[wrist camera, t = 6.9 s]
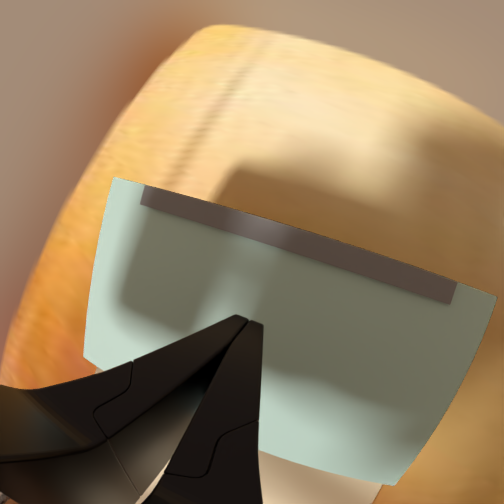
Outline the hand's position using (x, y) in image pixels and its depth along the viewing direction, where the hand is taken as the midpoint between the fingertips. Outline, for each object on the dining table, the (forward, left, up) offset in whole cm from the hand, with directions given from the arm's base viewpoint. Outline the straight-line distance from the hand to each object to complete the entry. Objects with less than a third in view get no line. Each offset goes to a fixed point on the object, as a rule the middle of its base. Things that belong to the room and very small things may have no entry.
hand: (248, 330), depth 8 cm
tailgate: (-3, -3, -6) cm, 7 cm away
